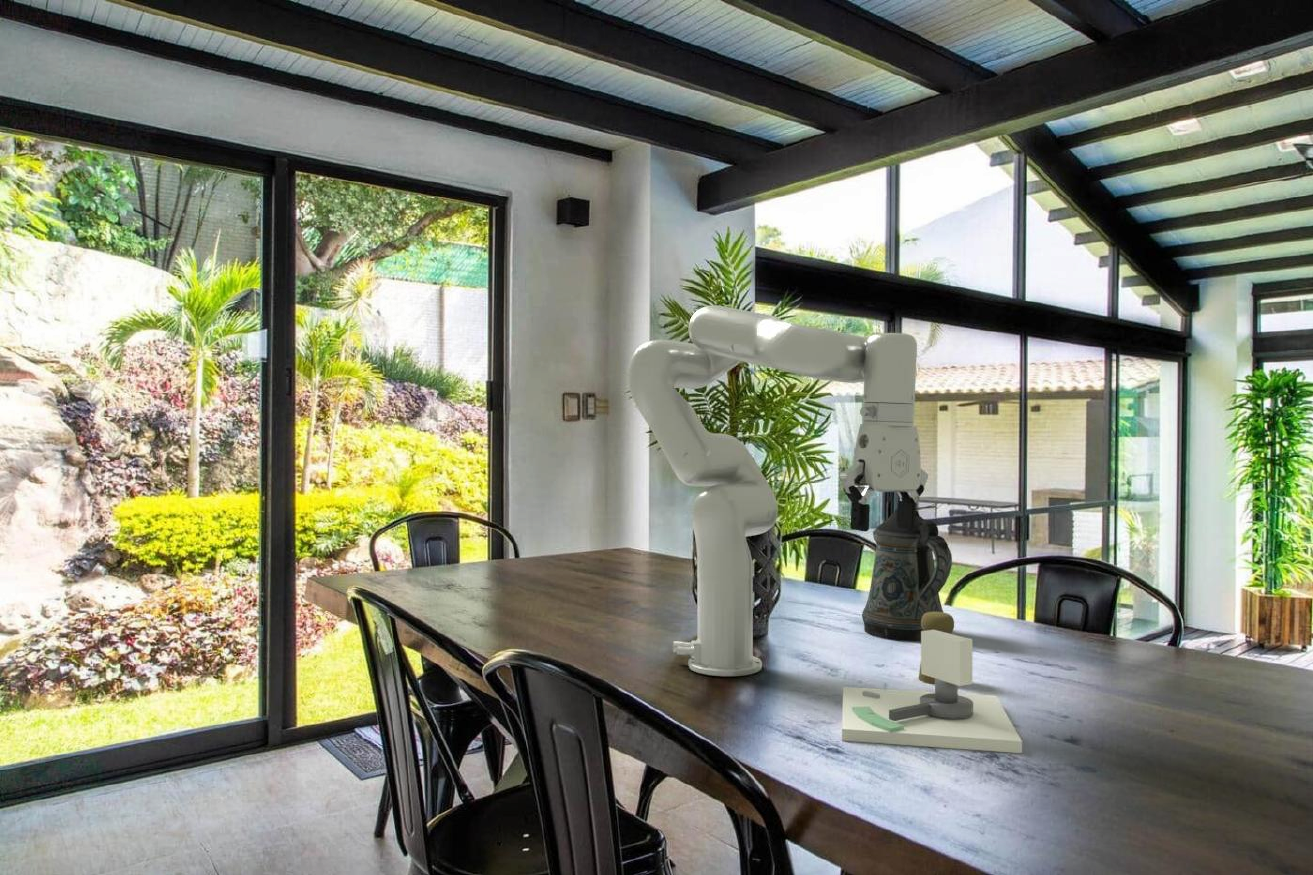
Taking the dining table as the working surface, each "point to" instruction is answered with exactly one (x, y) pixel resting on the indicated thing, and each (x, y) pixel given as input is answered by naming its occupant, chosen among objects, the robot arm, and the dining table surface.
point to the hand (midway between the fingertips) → (883, 529)
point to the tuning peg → (942, 677)
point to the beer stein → (905, 578)
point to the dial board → (926, 722)
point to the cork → (939, 623)
